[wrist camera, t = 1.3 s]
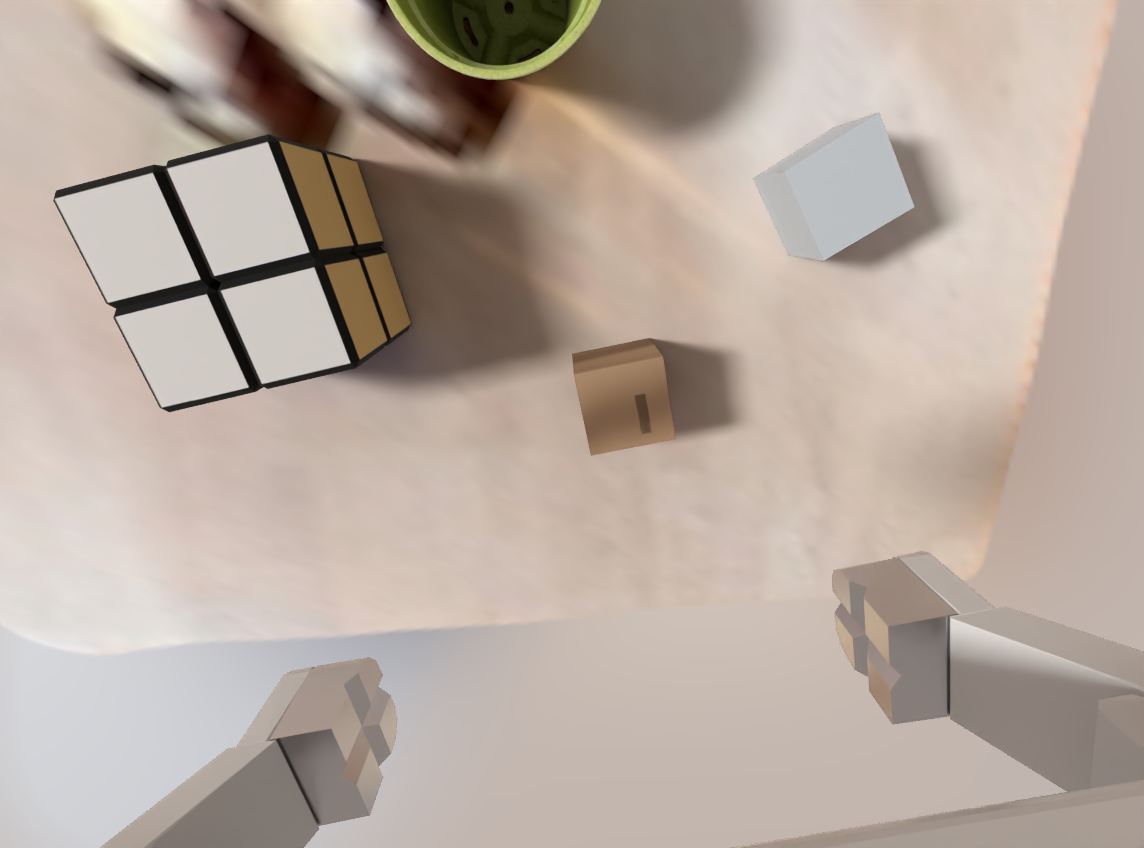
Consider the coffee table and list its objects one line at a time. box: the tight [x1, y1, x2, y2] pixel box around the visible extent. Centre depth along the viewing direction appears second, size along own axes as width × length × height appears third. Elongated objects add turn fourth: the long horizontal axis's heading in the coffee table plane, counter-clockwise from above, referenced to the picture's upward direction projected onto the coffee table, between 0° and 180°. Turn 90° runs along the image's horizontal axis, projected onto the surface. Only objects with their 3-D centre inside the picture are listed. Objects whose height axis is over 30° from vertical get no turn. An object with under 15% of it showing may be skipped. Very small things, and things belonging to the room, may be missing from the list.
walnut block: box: [572, 338, 676, 455], centre depth 34 cm, size 5×5×5 cm
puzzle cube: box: [53, 134, 411, 412], centre depth 29 cm, size 10×10×10 cm
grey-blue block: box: [753, 112, 914, 261], centre depth 30 cm, size 5×5×5 cm
